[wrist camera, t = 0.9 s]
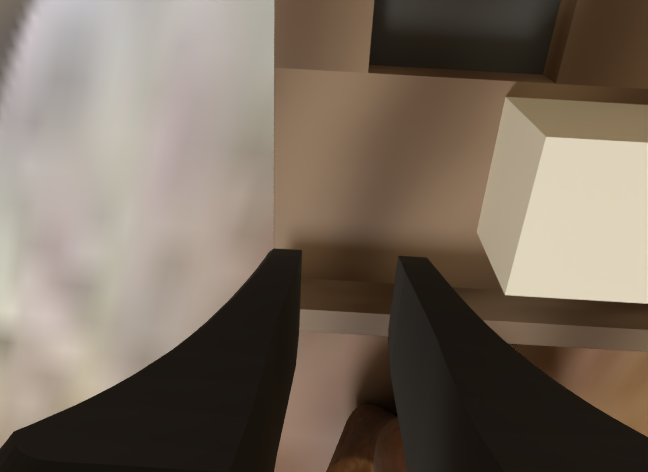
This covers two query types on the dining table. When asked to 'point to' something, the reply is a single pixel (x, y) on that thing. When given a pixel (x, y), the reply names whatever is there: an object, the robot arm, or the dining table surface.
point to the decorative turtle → (369, 443)
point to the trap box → (431, 147)
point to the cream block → (569, 200)
